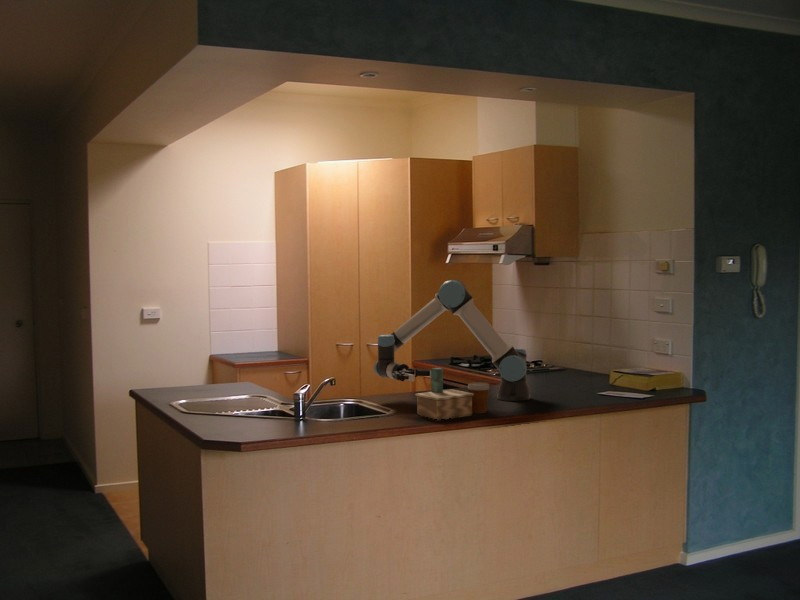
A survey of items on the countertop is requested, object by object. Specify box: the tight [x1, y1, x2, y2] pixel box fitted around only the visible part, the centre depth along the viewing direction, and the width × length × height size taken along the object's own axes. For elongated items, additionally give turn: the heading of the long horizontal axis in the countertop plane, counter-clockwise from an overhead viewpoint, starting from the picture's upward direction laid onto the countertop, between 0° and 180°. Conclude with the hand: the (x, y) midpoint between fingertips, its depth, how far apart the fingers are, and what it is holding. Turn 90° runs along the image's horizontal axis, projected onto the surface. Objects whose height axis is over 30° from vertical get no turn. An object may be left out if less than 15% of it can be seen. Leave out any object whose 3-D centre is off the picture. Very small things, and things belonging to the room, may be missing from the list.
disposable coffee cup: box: [467, 381, 491, 414], centre depth 359 cm, size 10×10×12 cm
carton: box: [416, 396, 473, 421], centre depth 353 cm, size 18×14×8 cm
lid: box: [414, 367, 474, 400], centre depth 352 cm, size 19×15×11 cm
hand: (427, 376), depth 361 cm, fingers open, 13 cm apart
